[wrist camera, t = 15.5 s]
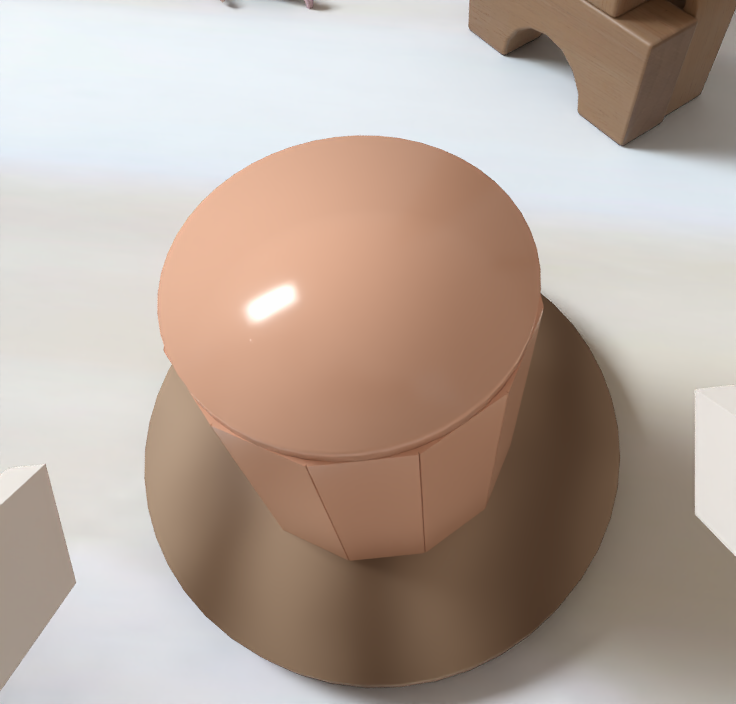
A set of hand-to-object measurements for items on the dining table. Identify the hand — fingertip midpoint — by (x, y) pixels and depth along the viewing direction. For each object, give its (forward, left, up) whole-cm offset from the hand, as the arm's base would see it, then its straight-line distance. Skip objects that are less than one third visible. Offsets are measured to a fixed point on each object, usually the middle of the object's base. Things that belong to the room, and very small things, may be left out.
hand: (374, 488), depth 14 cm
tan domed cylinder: (0, +7, -13) cm, 15 cm away
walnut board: (0, +7, -15) cm, 17 cm away
